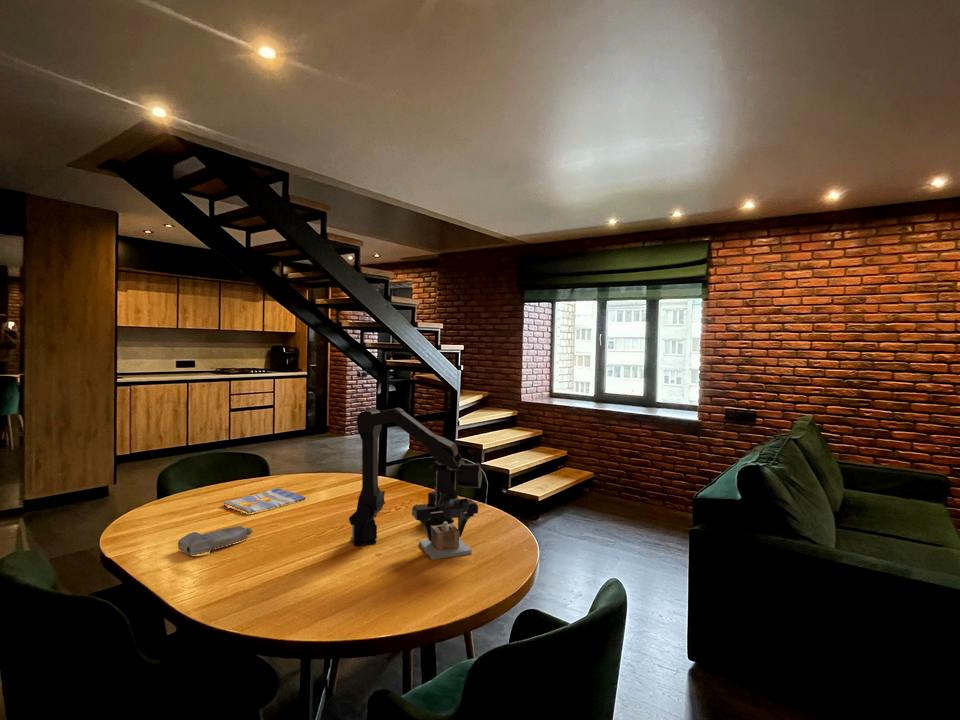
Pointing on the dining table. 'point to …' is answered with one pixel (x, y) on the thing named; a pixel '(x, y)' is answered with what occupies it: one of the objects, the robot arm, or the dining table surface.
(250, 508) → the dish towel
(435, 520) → the toy
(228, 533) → the handheld device
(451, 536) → the hollow square sleeve
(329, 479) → the dining table surface
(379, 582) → the dining table surface
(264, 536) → the dining table surface
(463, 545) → the grey peg base
